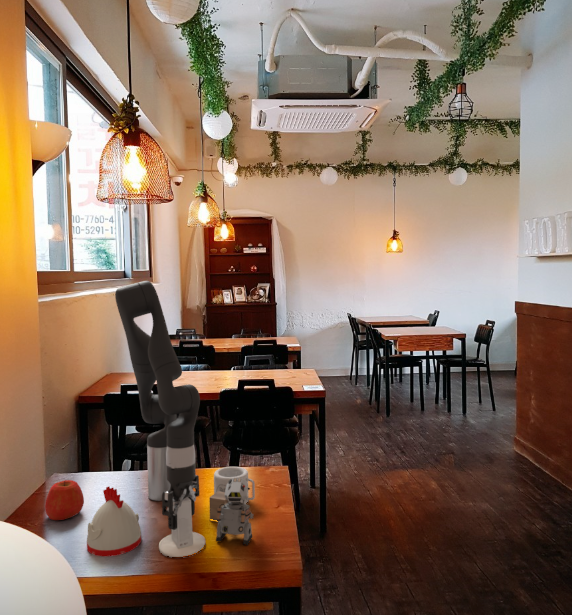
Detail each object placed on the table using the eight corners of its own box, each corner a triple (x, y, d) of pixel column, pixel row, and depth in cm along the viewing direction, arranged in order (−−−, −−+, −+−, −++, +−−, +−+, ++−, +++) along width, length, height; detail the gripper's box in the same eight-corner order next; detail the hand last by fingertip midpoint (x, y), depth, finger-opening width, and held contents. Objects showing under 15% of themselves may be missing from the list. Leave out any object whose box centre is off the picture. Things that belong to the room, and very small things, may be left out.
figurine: (258, 529, 149) (258, 477, 148) (245, 549, 138) (245, 493, 137) (228, 525, 151) (227, 474, 151) (213, 545, 140) (212, 490, 140)
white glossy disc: (175, 532, 148) (175, 528, 148) (213, 539, 143) (213, 535, 143) (149, 552, 137) (149, 548, 137) (189, 561, 132) (189, 557, 132)
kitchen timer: (122, 526, 152) (121, 475, 151) (151, 541, 143) (150, 486, 142) (76, 545, 141) (75, 490, 140) (105, 562, 132) (104, 503, 132)
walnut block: (218, 513, 159) (217, 491, 159) (232, 516, 158) (232, 493, 157) (209, 520, 155) (209, 497, 154) (225, 523, 153) (224, 500, 152)
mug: (207, 506, 164) (207, 475, 164) (224, 493, 174) (224, 464, 174) (247, 514, 159) (246, 481, 159) (262, 500, 169) (261, 469, 169)
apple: (70, 525, 152) (69, 489, 152) (36, 522, 154) (35, 486, 154) (91, 509, 163) (90, 475, 162) (59, 506, 165) (58, 473, 164)
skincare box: (193, 545, 138) (193, 500, 138) (177, 549, 136) (176, 503, 136) (186, 535, 144) (185, 491, 143) (170, 539, 142) (169, 495, 141)
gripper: (183, 451, 147) (184, 508, 148) (152, 468, 134) (153, 531, 134) (207, 454, 144) (207, 512, 145) (178, 472, 131) (179, 536, 132)
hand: (181, 521), depth 140 cm, fingers open, 8 cm apart
